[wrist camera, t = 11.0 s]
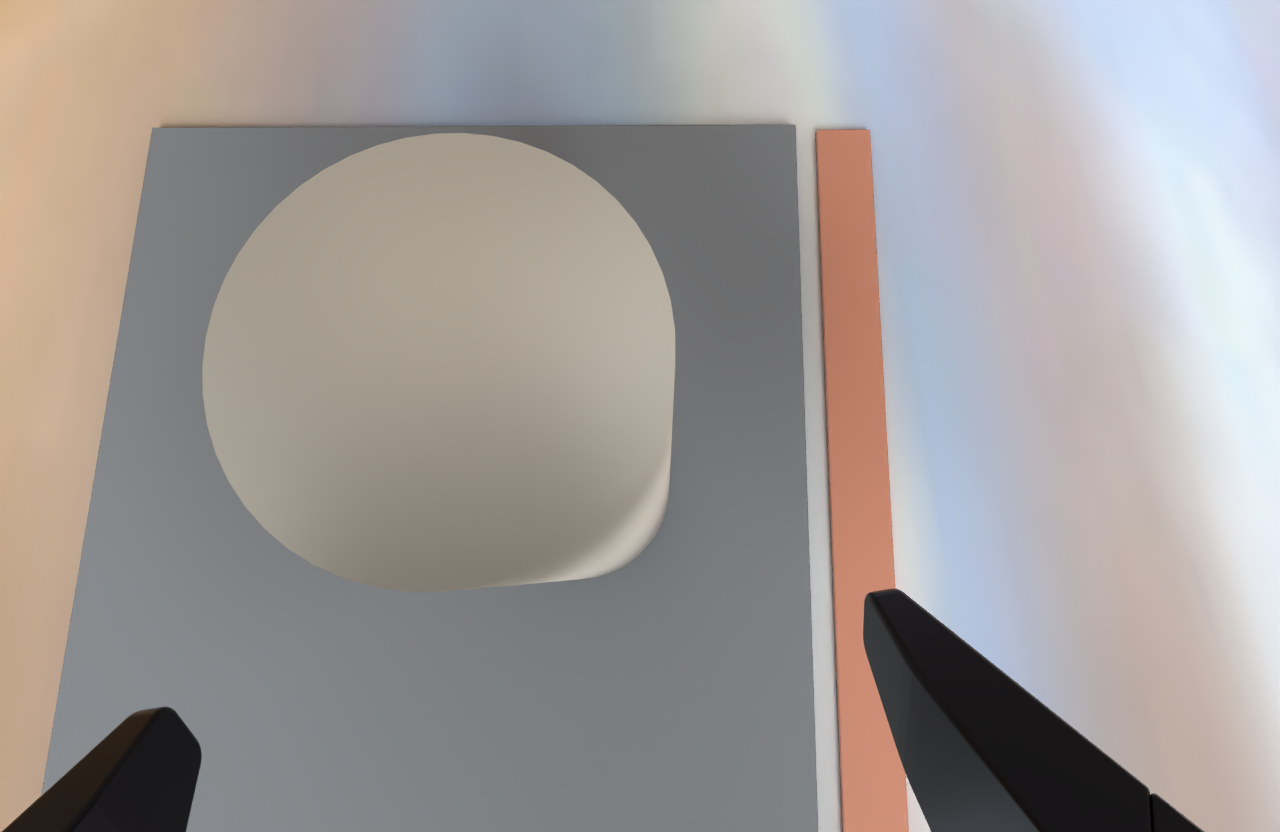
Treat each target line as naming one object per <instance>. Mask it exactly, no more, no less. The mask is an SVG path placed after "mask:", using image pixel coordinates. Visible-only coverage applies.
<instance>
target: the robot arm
mask: <svg viewBox="0 0 1280 832" xmlns="http://www.w3.org/2000/svg"><path fill="white" fill-rule="evenodd" d="M863 642H864V647H865V652H866V655H867V658H868V661H869V664H870V667H871V671H872V674H873V677H874V680H875V683H876V686H877V689H878V692H879V695H880V698H881V702H882V705H883V708H884V711H885V714H886V717H887V720H888V723H889V726H890V729H891V732H892V736H893V739H894V742H895V745H896V748H897V751H898V754H899V757H900V760H901V762H902V765H903V768H904V770H905V773H906V775H907V778H908V780H909V782H910V785H911V787H912V789H913V792H914V794H915V796H916V798H917V800H918V803H919V805H920V807H921V809H922V812H923V814H924V816H925V818H926V821H927V823H928V825H929V827H930V829H931V832H1204V831H1203V830H1202V829H1200V828H1199V827H1198V826H1196V825H1195V824H1194V823H1192V822H1191V821H1190V820H1189V819H1187V818H1186V817H1185V816H1184V815H1182V814H1181V813H1180V812H1178V811H1177V810H1176V809H1175V808H1173V807H1172V806H1171V805H1170V804H1168V803H1167V802H1166V801H1165V800H1163V799H1162V798H1161V797H1160V796H1158V795H1157V794H1154V793H1153V794H1151V795H1150V791H1149V788H1148V787H1147V786H1145V785H1144V784H1143V783H1142V782H1140V781H1139V780H1138V779H1137V778H1135V777H1134V776H1133V775H1132V774H1130V773H1129V772H1128V771H1127V770H1125V769H1124V768H1123V767H1122V766H1120V765H1119V764H1118V763H1117V762H1115V761H1114V760H1113V759H1112V758H1110V757H1109V756H1108V755H1107V754H1105V753H1104V752H1103V751H1102V750H1100V749H1099V748H1098V747H1097V746H1095V745H1094V744H1093V743H1092V742H1090V741H1089V740H1088V739H1087V738H1085V737H1084V736H1083V735H1082V734H1080V733H1079V732H1078V731H1077V730H1075V729H1074V728H1073V727H1072V726H1070V725H1069V724H1068V723H1067V722H1065V721H1064V720H1063V719H1062V718H1060V717H1059V716H1058V715H1056V714H1055V713H1054V712H1053V711H1051V710H1050V709H1049V708H1048V707H1046V706H1045V705H1044V704H1043V703H1041V702H1040V701H1039V700H1038V699H1036V698H1035V697H1034V696H1033V695H1031V694H1030V693H1029V692H1028V691H1026V690H1025V689H1024V688H1023V687H1021V686H1020V685H1019V684H1018V683H1016V682H1015V681H1014V680H1013V679H1011V678H1010V677H1009V676H1008V675H1006V674H1005V673H1004V672H1003V671H1001V670H1000V669H999V668H998V667H996V666H995V665H994V664H993V663H991V662H990V661H989V660H988V659H986V658H985V657H984V656H983V655H981V654H980V653H979V652H978V651H976V650H975V649H974V648H973V647H971V646H970V645H969V644H967V643H966V642H965V641H964V640H962V639H961V638H960V637H959V636H957V635H956V634H955V633H954V632H952V631H951V630H950V629H949V628H947V627H946V626H945V625H944V624H942V623H941V622H940V621H939V620H937V619H936V618H935V617H934V616H932V615H931V614H930V613H929V612H927V611H926V610H925V609H924V608H922V607H921V606H920V605H919V604H917V603H916V602H915V601H914V600H912V599H911V598H910V597H909V596H907V595H906V594H905V593H904V592H902V591H901V590H898V589H886V590H879V591H873V592H869V593H868V594H867V595H866V597H865V600H864V620H863ZM201 759H202V753H201V747H200V744H199V742H198V740H197V739H196V738H195V736H194V735H193V734H192V732H191V731H190V730H189V728H188V727H187V726H186V724H185V723H184V722H183V720H182V719H181V718H180V716H179V715H178V714H177V712H176V711H175V710H174V709H172V708H170V707H158V708H151V709H145V710H140V711H137V712H135V713H133V714H131V715H130V716H129V717H127V718H126V719H125V720H124V721H123V722H122V723H121V724H120V725H118V726H117V727H116V728H115V729H114V730H113V731H112V732H111V733H110V734H109V735H107V736H106V737H105V738H104V739H103V740H102V741H101V742H100V743H99V744H98V745H97V746H95V747H94V748H93V749H92V750H91V751H90V752H89V753H88V754H87V755H86V756H84V757H83V758H82V759H81V760H80V761H79V762H78V763H77V764H76V765H75V766H73V767H72V768H71V769H70V770H69V771H68V772H67V773H66V774H65V775H64V776H63V777H61V778H60V779H59V780H58V781H57V782H56V783H55V784H54V785H53V786H52V787H50V788H49V789H48V790H47V791H46V792H45V793H44V794H43V795H42V796H41V797H39V798H38V799H37V800H36V801H35V802H34V803H33V804H32V805H31V806H30V807H29V808H27V809H26V810H25V811H24V812H23V813H22V814H21V815H20V816H19V817H18V818H16V819H15V820H14V821H13V822H12V823H11V824H10V825H9V826H8V827H7V828H6V829H4V830H3V831H2V832H186V830H187V825H188V821H189V816H190V812H191V807H192V802H193V798H194V793H195V789H196V784H197V780H198V775H199V771H200V766H201Z"/></svg>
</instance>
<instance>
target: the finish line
mask: <svg viewBox="0 0 1280 832" xmlns="http://www.w3.org/2000/svg"><path fill="white" fill-rule="evenodd" d="M816 150H817V176H818V202H819V228H820V254H821V280H822V306H823V332H824V358H825V384H826V410H827V436H828V462H829V488H830V514H831V540H832V566H833V592H834V618H835V644H836V670H837V696H838V722H839V748H840V774H841V800H842V826H843V832H909V829H908V811H907V793H906V775H905V770H904V768H903V765H902V762H901V760H900V757H899V754H898V751H897V748H896V745H895V742H894V739H893V736H892V732H891V729H890V726H889V723H888V720H887V717H886V714H885V711H884V708H883V705H882V702H881V698H880V695H879V692H878V689H877V686H876V683H875V680H874V677H873V674H872V671H871V667H870V664H869V661H868V658H867V655H866V652H865V647H864V642H863V620H864V600H865V597H866V595H867V594H868V593H869V592H873V591H879V590H886V589H895V576H894V558H893V539H892V521H891V503H890V485H889V467H888V449H887V431H886V413H885V394H884V376H883V358H882V340H881V322H880V304H879V286H878V268H877V250H876V231H875V213H874V195H873V177H872V159H871V141H870V130H817V132H816Z"/></svg>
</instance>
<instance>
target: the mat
mask: <svg viewBox="0 0 1280 832" xmlns="http://www.w3.org/2000/svg"><path fill="white" fill-rule="evenodd" d="M439 133H469V134H479V135H489V136H496V137H500V138H505V139H509V140H513V141H518V142H522V143H524V144H527V145H530V146H533V147H536V148H538V149H541V150H544V151H547V152H549V153H551V154H553V155H555V156H557V157H559V158H561V159H562V160H564V161H566V162H568V163H570V164H572V165H574V166H575V167H577V168H578V169H580V170H581V171H582V172H584V173H585V174H587V175H588V176H590V177H591V178H593V179H594V180H596V181H597V182H598V183H599V184H600V185H601V186H602V187H603V188H604V189H606V190H607V191H608V192H609V193H610V194H611V195H612V196H613V197H614V198H615V199H617V201H618V202H619V203H620V204H621V205H622V206H623V208H624V209H625V210H626V211H627V212H628V214H629V215H630V216H631V217H632V218H633V220H634V221H635V222H636V224H637V225H638V227H639V228H640V230H641V232H642V233H643V235H644V236H645V238H646V239H647V241H648V243H649V244H650V246H651V248H652V250H653V252H654V255H655V257H656V259H657V261H658V263H659V266H660V268H661V270H662V272H663V276H664V279H665V283H666V286H667V289H668V293H669V296H670V299H671V305H672V312H673V319H674V325H675V380H674V401H673V422H672V443H671V464H670V485H669V497H668V505H667V509H666V513H665V516H664V519H663V521H662V524H661V526H660V528H659V530H658V532H657V533H656V535H655V537H654V538H653V540H652V541H651V542H650V544H649V545H648V546H647V548H646V549H645V550H644V551H643V552H642V553H641V554H640V555H639V556H637V557H636V558H635V559H634V560H632V561H631V562H630V563H628V564H627V565H625V566H623V567H622V568H620V569H618V570H616V571H614V572H611V573H609V574H606V575H603V576H599V577H595V578H588V579H579V580H568V581H556V582H545V583H533V584H522V585H510V586H499V587H487V588H476V589H464V590H453V591H441V592H406V591H399V590H391V589H384V588H377V587H372V586H369V585H365V584H362V583H358V582H354V581H351V580H347V579H344V578H342V577H339V576H337V575H335V574H332V573H330V572H328V571H326V570H323V569H321V568H319V567H317V566H314V565H313V564H311V563H310V562H308V561H307V560H305V559H303V558H302V557H300V556H299V555H297V554H295V553H294V552H292V551H291V550H289V549H288V548H286V547H285V546H284V545H283V544H282V543H281V542H279V541H278V540H277V539H276V538H275V537H273V536H272V535H271V534H270V533H269V532H268V531H266V530H265V529H264V528H263V527H262V525H261V524H260V523H259V522H258V521H257V520H256V519H255V517H254V516H253V515H252V514H251V513H250V512H249V511H248V509H247V508H246V507H245V506H244V504H243V503H242V501H241V500H240V498H239V497H238V495H237V494H236V492H235V491H234V489H233V487H232V486H231V484H230V483H229V481H228V479H227V477H226V475H225V473H224V471H223V469H222V466H221V464H220V462H219V460H218V458H217V455H216V453H215V450H214V446H213V443H212V440H211V436H210V433H209V430H208V426H207V421H206V414H205V408H204V401H203V384H202V364H203V355H204V347H205V339H206V333H207V329H208V326H209V322H210V318H211V314H212V310H213V306H214V304H215V301H216V299H217V296H218V294H219V291H220V289H221V286H222V284H223V281H224V279H225V277H226V275H227V273H228V271H229V270H230V268H231V266H232V264H233V262H234V260H235V259H236V257H237V255H238V253H239V252H240V250H241V249H242V247H243V246H244V245H245V243H246V242H247V240H248V239H249V238H250V236H251V235H252V233H253V232H254V231H255V229H256V228H257V227H258V226H259V225H260V224H261V222H262V221H263V220H264V219H265V218H266V217H267V216H268V215H269V214H270V213H271V211H272V210H273V209H274V208H275V207H276V206H277V205H278V204H279V203H281V202H282V201H283V200H284V199H285V198H286V197H287V196H289V195H290V194H291V193H292V192H293V191H294V190H296V189H297V188H298V187H299V186H300V185H302V184H303V183H305V182H306V181H308V180H309V179H311V178H312V177H314V176H315V175H317V174H318V173H319V172H321V171H322V170H324V169H326V168H328V167H330V166H331V165H333V164H335V163H337V162H339V161H341V160H343V159H345V158H347V157H349V156H351V155H353V154H356V153H358V152H361V151H364V150H366V149H369V148H371V147H374V146H376V145H380V144H384V143H387V142H391V141H395V140H399V139H403V138H407V137H414V136H421V135H428V134H439ZM158 707H170V708H172V709H174V710H175V711H176V712H177V714H178V715H179V716H180V718H181V719H182V720H183V722H184V723H185V724H186V726H187V727H188V728H189V730H190V731H191V732H192V734H193V735H194V736H195V738H196V739H197V740H198V742H199V744H200V747H201V753H202V759H201V766H200V771H199V775H198V780H197V784H196V789H195V793H194V798H193V802H192V807H191V812H190V816H189V821H188V825H187V830H186V832H818V811H817V780H816V749H815V718H814V687H813V656H812V625H811V594H810V563H809V532H808V500H807V469H806V438H805V407H804V376H803V345H802V314H801V283H800V252H799V221H798V190H797V159H796V128H795V125H635V126H429V127H223V128H152V134H151V140H150V146H149V152H148V158H147V164H146V170H145V176H144V182H143V188H142V194H141V200H140V206H139V212H138V218H137V224H136V230H135V236H134V242H133V248H132V254H131V260H130V266H129V272H128V278H127V284H126V290H125V296H124V302H123V308H122V314H121V320H120V326H119V332H118V338H117V344H116V350H115V356H114V362H113V368H112V374H111V380H110V386H109V392H108V398H107V404H106V410H105V416H104V422H103V428H102V434H101V440H100V446H99V452H98V458H97V464H96V470H95V476H94V482H93V488H92V494H91V500H90V506H89V512H88V518H87V524H86V530H85V536H84V542H83V548H82V554H81V560H80V566H79V572H78V578H77V584H76V590H75V596H74V602H73V608H72V614H71V620H70V626H69V632H68V638H67V644H66V650H65V656H64V662H63V668H62V674H61V680H60V686H59V692H58V698H57V704H56V710H55V716H54V722H53V728H52V734H51V740H50V746H49V752H48V758H47V764H46V770H45V776H44V782H43V788H42V794H41V796H42V795H43V794H44V793H45V792H46V791H47V790H48V789H49V788H50V787H52V786H53V785H54V784H55V783H56V782H57V781H58V780H59V779H60V778H61V777H63V776H64V775H65V774H66V773H67V772H68V771H69V770H70V769H71V768H72V767H73V766H75V765H76V764H77V763H78V762H79V761H80V760H81V759H82V758H83V757H84V756H86V755H87V754H88V753H89V752H90V751H91V750H92V749H93V748H94V747H95V746H97V745H98V744H99V743H100V742H101V741H102V740H103V739H104V738H105V737H106V736H107V735H109V734H110V733H111V732H112V731H113V730H114V729H115V728H116V727H117V726H118V725H120V724H121V723H122V722H123V721H124V720H125V719H126V718H127V717H129V716H130V715H131V714H133V713H135V712H137V711H140V710H145V709H151V708H158Z"/></svg>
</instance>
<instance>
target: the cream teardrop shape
mask: <svg viewBox="0 0 1280 832" xmlns="http://www.w3.org/2000/svg"><path fill="white" fill-rule="evenodd" d="M674 380H675V325H674V319H673V312H672V305H671V299H670V296H669V293H668V289H667V286H666V283H665V279H664V276H663V272H662V270H661V268H660V266H659V263H658V261H657V259H656V257H655V255H654V252H653V250H652V248H651V246H650V244H649V243H648V241H647V239H646V238H645V236H644V235H643V233H642V232H641V230H640V228H639V227H638V225H637V224H636V222H635V221H634V220H633V218H632V217H631V216H630V215H629V214H628V212H627V211H626V210H625V209H624V208H623V206H622V205H621V204H620V203H619V202H618V201H617V199H615V198H614V197H613V196H612V195H611V194H610V193H609V192H608V191H607V190H606V189H604V188H603V187H602V186H601V185H600V184H599V183H598V182H597V181H596V180H594V179H593V178H591V177H590V176H588V175H587V174H585V173H584V172H582V171H581V170H580V169H578V168H577V167H575V166H574V165H572V164H570V163H568V162H566V161H564V160H562V159H561V158H559V157H557V156H555V155H553V154H551V153H549V152H547V151H544V150H541V149H538V148H536V147H533V146H530V145H527V144H524V143H522V142H518V141H513V140H509V139H505V138H500V137H496V136H489V135H479V134H469V133H439V134H428V135H421V136H414V137H407V138H403V139H399V140H395V141H391V142H387V143H384V144H380V145H376V146H374V147H371V148H369V149H366V150H364V151H361V152H358V153H356V154H353V155H351V156H349V157H347V158H345V159H343V160H341V161H339V162H337V163H335V164H333V165H331V166H330V167H328V168H326V169H324V170H322V171H321V172H319V173H318V174H317V175H315V176H314V177H312V178H311V179H309V180H308V181H306V182H305V183H303V184H302V185H300V186H299V187H298V188H297V189H296V190H294V191H293V192H292V193H291V194H290V195H289V196H287V197H286V198H285V199H284V200H283V201H282V202H281V203H279V204H278V205H277V206H276V207H275V208H274V209H273V210H272V211H271V213H270V214H269V215H268V216H267V217H266V218H265V219H264V220H263V221H262V222H261V224H260V225H259V226H258V227H257V228H256V229H255V231H254V232H253V233H252V235H251V236H250V238H249V239H248V240H247V242H246V243H245V245H244V246H243V247H242V249H241V250H240V252H239V253H238V255H237V257H236V259H235V260H234V262H233V264H232V266H231V268H230V270H229V271H228V273H227V275H226V277H225V279H224V281H223V284H222V286H221V289H220V291H219V294H218V296H217V299H216V301H215V304H214V306H213V310H212V314H211V318H210V322H209V326H208V329H207V333H206V339H205V347H204V355H203V364H202V384H203V401H204V408H205V414H206V421H207V426H208V430H209V433H210V436H211V440H212V443H213V446H214V450H215V453H216V455H217V458H218V460H219V462H220V464H221V466H222V469H223V471H224V473H225V475H226V477H227V479H228V481H229V483H230V484H231V486H232V487H233V489H234V491H235V492H236V494H237V495H238V497H239V498H240V500H241V501H242V503H243V504H244V506H245V507H246V508H247V509H248V511H249V512H250V513H251V514H252V515H253V516H254V517H255V519H256V520H257V521H258V522H259V523H260V524H261V525H262V527H263V528H264V529H265V530H266V531H268V532H269V533H270V534H271V535H272V536H273V537H275V538H276V539H277V540H278V541H279V542H281V543H282V544H283V545H284V546H285V547H286V548H288V549H289V550H291V551H292V552H294V553H295V554H297V555H299V556H300V557H302V558H303V559H305V560H307V561H308V562H310V563H311V564H313V565H314V566H317V567H319V568H321V569H323V570H326V571H328V572H330V573H332V574H335V575H337V576H339V577H342V578H344V579H347V580H351V581H354V582H358V583H362V584H365V585H369V586H372V587H377V588H384V589H391V590H399V591H406V592H441V591H453V590H464V589H476V588H487V587H499V586H510V585H522V584H533V583H545V582H556V581H568V580H579V579H588V578H595V577H599V576H603V575H606V574H609V573H611V572H614V571H616V570H618V569H620V568H622V567H623V566H625V565H627V564H628V563H630V562H631V561H632V560H634V559H635V558H636V557H637V556H639V555H640V554H641V553H642V552H643V551H644V550H645V549H646V548H647V546H648V545H649V544H650V542H651V541H652V540H653V538H654V537H655V535H656V533H657V532H658V530H659V528H660V526H661V524H662V521H663V519H664V516H665V513H666V509H667V505H668V497H669V485H670V464H671V443H672V422H673V401H674Z"/></svg>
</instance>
